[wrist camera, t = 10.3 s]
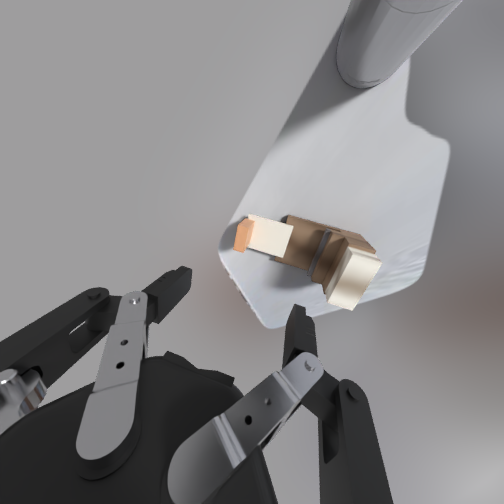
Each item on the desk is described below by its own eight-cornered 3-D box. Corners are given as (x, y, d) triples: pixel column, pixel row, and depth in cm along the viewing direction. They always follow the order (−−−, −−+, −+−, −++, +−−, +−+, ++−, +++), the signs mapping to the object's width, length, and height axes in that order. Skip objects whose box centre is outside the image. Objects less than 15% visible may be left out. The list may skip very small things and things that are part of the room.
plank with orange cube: (247, 212, 36) (239, 219, 31) (293, 226, 35) (292, 234, 30) (240, 244, 39) (232, 254, 35) (283, 257, 38) (280, 269, 33)
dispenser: (288, 214, 36) (284, 230, 26) (360, 234, 34) (384, 259, 25) (274, 257, 40) (267, 285, 31) (338, 277, 39) (351, 313, 29)
